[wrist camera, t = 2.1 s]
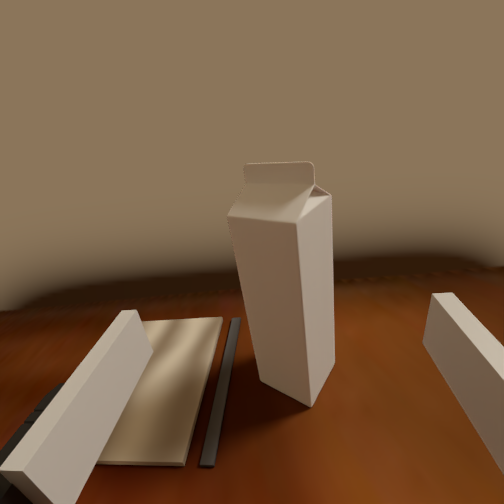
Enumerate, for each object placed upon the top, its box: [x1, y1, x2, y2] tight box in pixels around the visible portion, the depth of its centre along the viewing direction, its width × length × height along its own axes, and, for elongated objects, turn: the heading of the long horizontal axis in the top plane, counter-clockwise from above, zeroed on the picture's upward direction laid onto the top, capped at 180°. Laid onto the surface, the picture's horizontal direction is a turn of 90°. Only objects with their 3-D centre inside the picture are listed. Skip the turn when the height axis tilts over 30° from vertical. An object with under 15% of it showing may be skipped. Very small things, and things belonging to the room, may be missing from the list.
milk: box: [227, 162, 335, 407], centre depth 25 cm, size 6×6×22 cm
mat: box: [96, 317, 241, 467], centre depth 32 cm, size 19×18×1 cm
